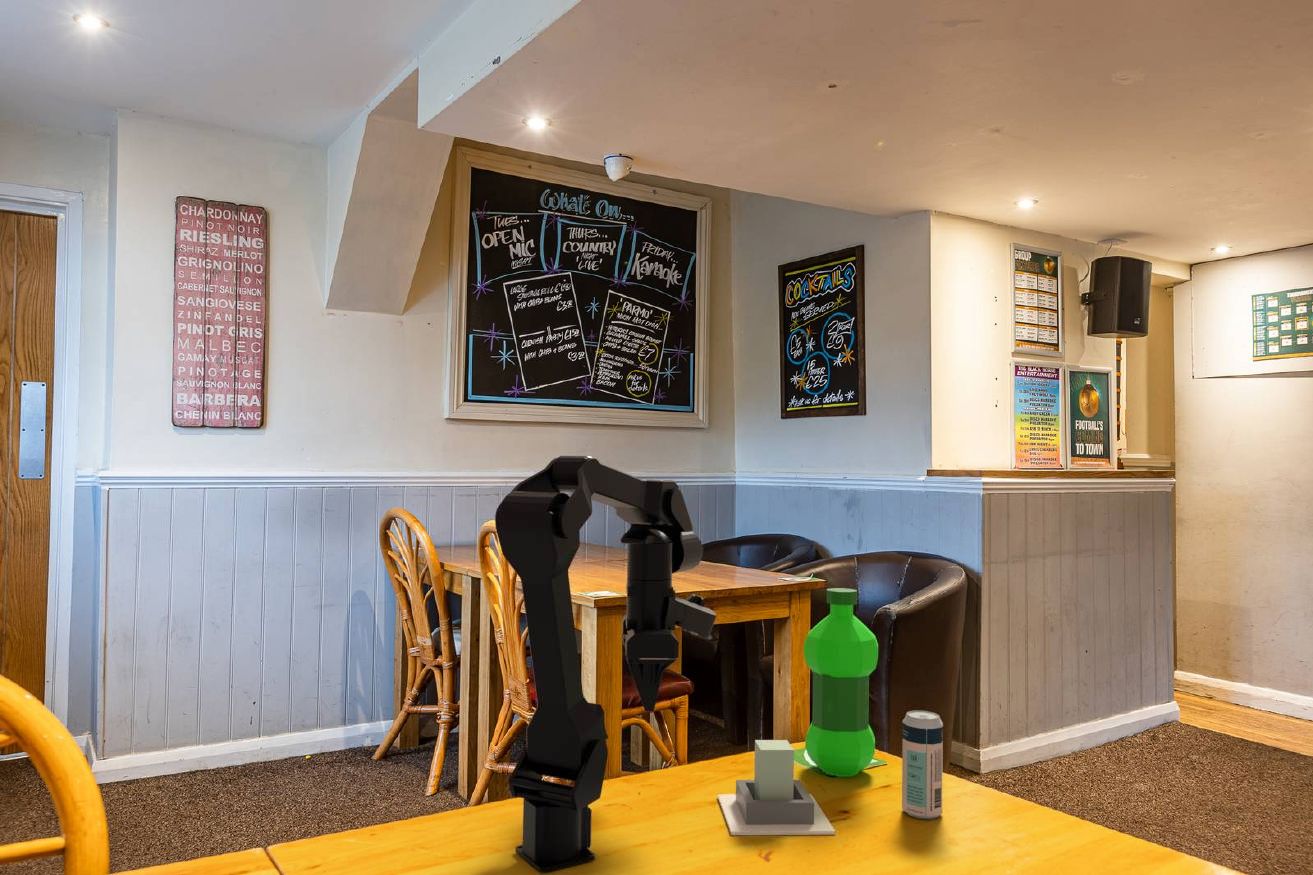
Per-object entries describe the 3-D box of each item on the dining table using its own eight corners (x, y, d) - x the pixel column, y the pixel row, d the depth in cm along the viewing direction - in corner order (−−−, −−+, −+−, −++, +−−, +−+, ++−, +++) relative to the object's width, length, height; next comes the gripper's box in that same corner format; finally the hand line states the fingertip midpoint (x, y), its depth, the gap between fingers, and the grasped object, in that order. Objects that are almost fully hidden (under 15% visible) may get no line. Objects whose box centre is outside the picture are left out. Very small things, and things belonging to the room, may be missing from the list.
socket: (835, 834, 107) (835, 808, 107) (731, 835, 106) (731, 809, 106) (811, 797, 119) (811, 774, 119) (717, 797, 118) (718, 774, 118)
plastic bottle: (787, 768, 130) (789, 588, 131) (835, 754, 137) (837, 583, 137) (844, 788, 122) (846, 597, 123) (892, 772, 129) (894, 591, 130)
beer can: (938, 807, 116) (938, 710, 116) (946, 822, 111) (947, 720, 111) (898, 805, 116) (899, 708, 117) (905, 820, 111) (906, 719, 112)
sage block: (793, 818, 110) (793, 750, 111) (759, 818, 110) (760, 750, 110) (786, 805, 114) (787, 740, 115) (754, 805, 114) (755, 740, 114)
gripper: (722, 588, 110) (720, 721, 109) (704, 570, 128) (702, 684, 128) (627, 587, 109) (625, 721, 108) (623, 569, 127) (621, 684, 127)
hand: (647, 701), depth 118 cm, fingers open, 9 cm apart
